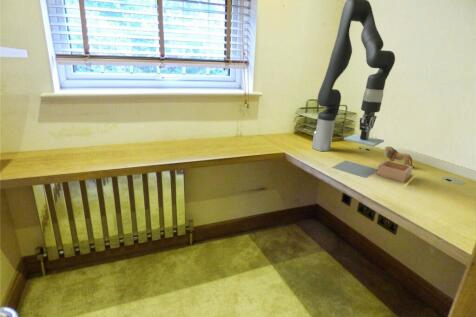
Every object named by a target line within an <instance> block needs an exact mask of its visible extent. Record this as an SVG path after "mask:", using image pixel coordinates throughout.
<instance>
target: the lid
mask: <svg viewBox="0 0 476 317" xmlns="http://www.w3.org/2000/svg"><path fill="white" fill-rule="evenodd" d="M369 131H370V132H371V130H370V128H368V131H367V135H366V139H365V140H362V139H360V136H361V134H357V133H355V134H351V135H348V136H346V137H344V138H343V140H344V141H347V142H352V143H356V144H360V145H364V146H368V147H373V148H374V147H376V146H378V145H380V144H382V143H384V142H385V140H384V139H380V138H377V137H373V136H372V137H371V136H370V133H369ZM368 136H369V138H368Z"/></svg>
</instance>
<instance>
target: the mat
mask: <svg viewBox="0 0 476 317" xmlns="http://www.w3.org/2000/svg"><path fill="white" fill-rule="evenodd" d="M331 168H332V169H335V170H337V171H340V172H345V173H348V174H351V175H354V176H357V177H361V178H363V179H367V178H369V177H370V176H372V175H374V174H375V173H377V171H378V168H375V167H371V166H368V165H363V164H360V163H357V162H354V161H350V160H343V161H342V162H340V163H338V164H336V165H334V166H332V167H331Z"/></svg>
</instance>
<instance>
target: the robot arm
mask: <svg viewBox="0 0 476 317" xmlns="http://www.w3.org/2000/svg"><path fill="white" fill-rule="evenodd" d="M339 20H340V21H339V26H338V31H337V35H336V38H335V42H334V44H333V49H332V51H331V54H330V58H329V61H328V62H329V63H328V66H327V68H326V72H325V75H324V78H323V81H322V84H321V86H320V89H319V90H318V91H319V92H318V95H317V103H318V106H320V107H323V108H324V107H325V108H324V109H323V110H322V111H320V112H319V113H318V115H317V122H316V129H315V131H314V132H313V138H312V144H311V145H312V146H311V148H312V149H314V150H315V151H319V152H329V151H330V150H331V147H332V140H333V135H334V130H335V129H334V128H335V123H336V119H337V117H338V114H339V110H340V106H341V101H342V95H341V92H340V90H339V89H335V88H334V86H335V83H336V81H337V79H339V78H340V76H341V75H342V74H343V73H344V72H345V70H346V69H347V68H348V66H349V64H350V60H351V57H352V54H353V48H352V47H353V46H352V41H351V37H350V28H351V25H352V24H351V23H352V22H356V23H357V22H359V23H360V24H361V25H362V30H361V34H360V40H361V42H362V45H363V47H364V50H365V57H366V58H365V60H366V65H367V66H368V67H369V68H372V69H378V70H377V71H376V73H373V74H369V75H368V77H367V81H366V85H365V89H364V93H363V98H362V102H361V106H360V110H361V111H363V112H364V113H363V114H362V116H361V117H360V118H359V131H360V135H361V136H360V139H362V140H365V139H366V135H367V131H368V128H370V131H369V134H370V133H371V130H372V129H374V126H375V122H376V119H377V115H375V113H379V112H380V111H381V106H382V102H383V98H384V91H385V85H386V81H387V79H388V77H389V75H390V73H391V71H392V69H393V67H394V64H395V62H396V56H395V53H394V51H391V50H382V49H383V48H384V44H385V43H384V40H383V39H382V36H381V34H380V33H379V30H378V29H377V25H376V21H375V16H374V13H373V8H372V4H371V3H370V1H369V0H346V1H345V3H344V5H343V8H342V12H341V15H340V19H339ZM333 88H334V89H333ZM369 137H370V135H369V136H368V138H369Z"/></svg>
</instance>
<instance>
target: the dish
mask: <svg viewBox="0 0 476 317" xmlns="http://www.w3.org/2000/svg"><path fill="white" fill-rule="evenodd" d="M413 166H414V165H413ZM413 166H409V165H408V164H406V165H405V164H404V163H400V162H398V161H397V162H396V161H390V159H386V160H384V161H382V163H380V164H379V165H378V166H377V169H378V170H377V171H376V176H377V175H378V176H380V177H384V178H388V179H391V180H395V181H397V182H402V183H404V182H406V181H407V180H408V179H409V178H410V177H411V175H412V172H413V168H414V167H413Z"/></svg>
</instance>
